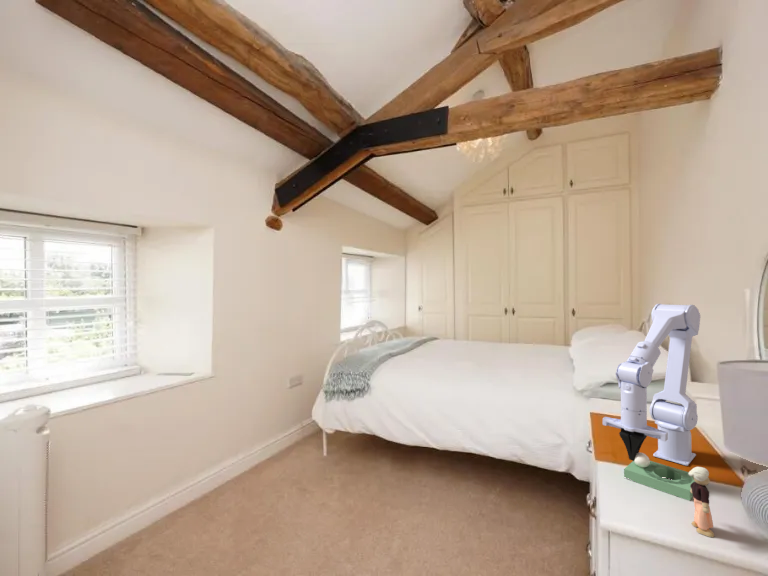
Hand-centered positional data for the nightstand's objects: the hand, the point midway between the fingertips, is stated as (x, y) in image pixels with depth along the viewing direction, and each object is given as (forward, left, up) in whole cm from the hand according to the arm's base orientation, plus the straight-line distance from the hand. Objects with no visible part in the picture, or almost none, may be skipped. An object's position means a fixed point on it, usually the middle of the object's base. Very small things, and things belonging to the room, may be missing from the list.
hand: (633, 459), depth 99 cm
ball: (0, +2, 0) cm, 2 cm away
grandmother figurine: (+14, +17, -4) cm, 22 cm away
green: (-1, +5, -4) cm, 6 cm away
